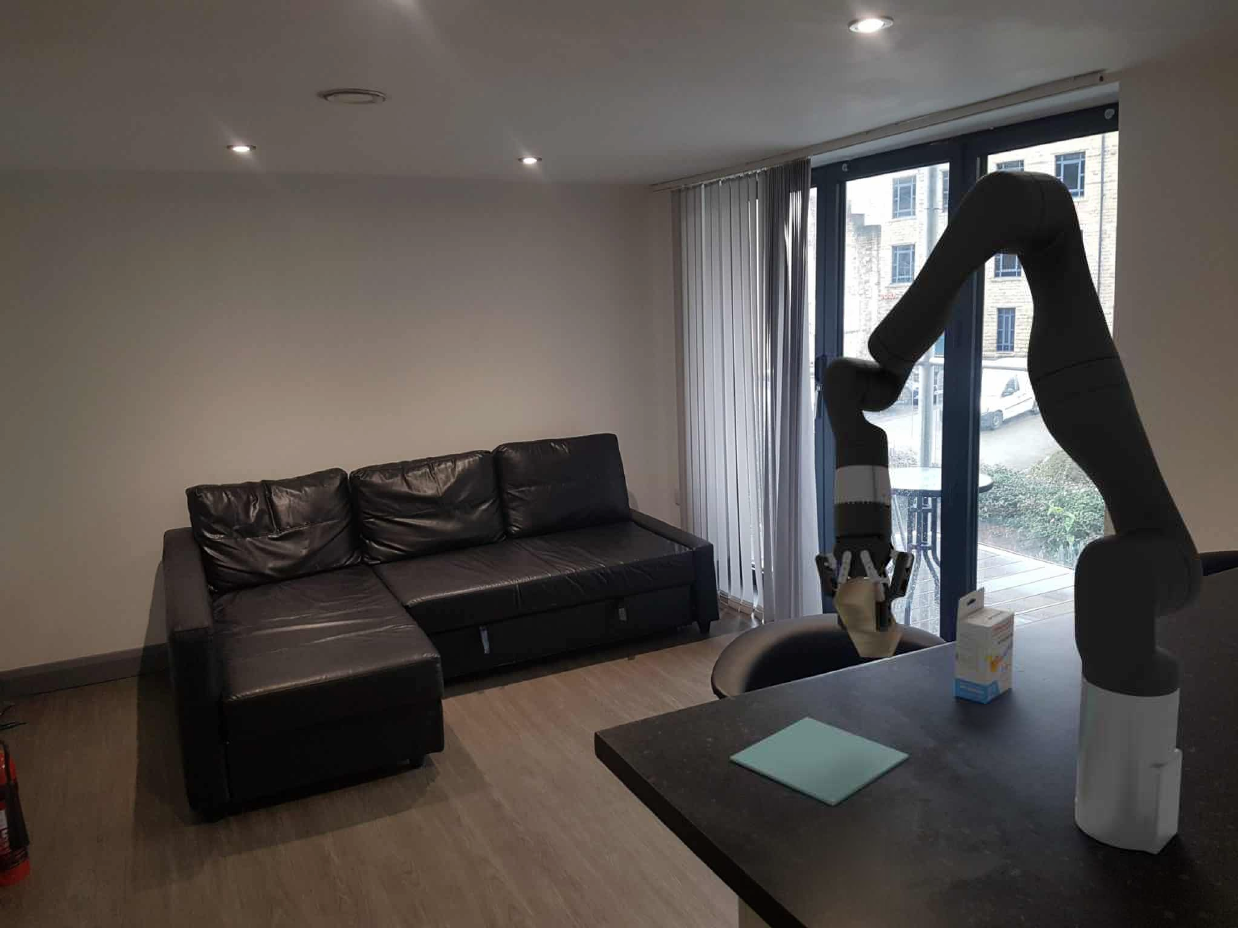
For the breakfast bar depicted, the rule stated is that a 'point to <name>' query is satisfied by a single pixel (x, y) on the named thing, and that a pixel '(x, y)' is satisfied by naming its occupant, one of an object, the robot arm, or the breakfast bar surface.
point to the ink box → (983, 649)
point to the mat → (820, 760)
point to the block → (865, 619)
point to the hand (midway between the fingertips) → (864, 630)
